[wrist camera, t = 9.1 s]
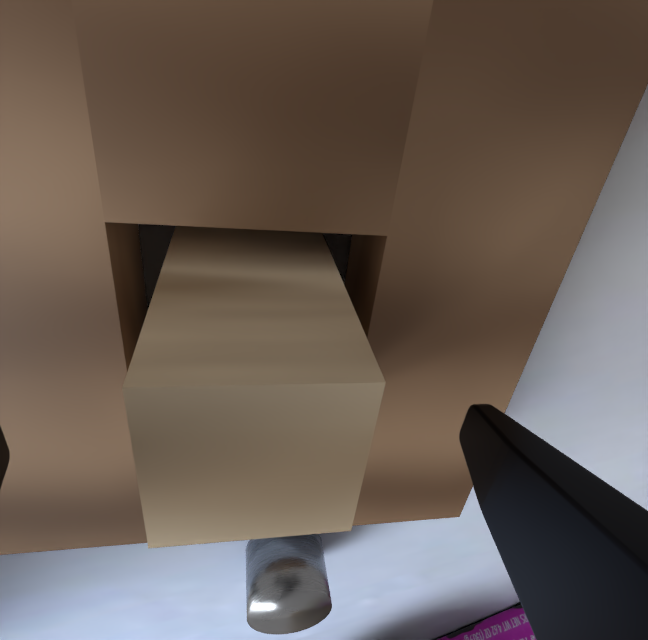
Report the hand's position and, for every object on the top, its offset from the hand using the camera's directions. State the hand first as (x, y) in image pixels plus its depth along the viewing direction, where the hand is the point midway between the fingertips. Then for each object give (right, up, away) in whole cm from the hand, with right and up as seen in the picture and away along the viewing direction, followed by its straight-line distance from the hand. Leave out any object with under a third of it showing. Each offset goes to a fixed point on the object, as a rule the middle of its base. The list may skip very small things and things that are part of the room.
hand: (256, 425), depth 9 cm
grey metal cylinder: (-1, -9, +13) cm, 15 cm away
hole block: (-1, +3, +5) cm, 6 cm away
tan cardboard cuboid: (-1, +3, +5) cm, 6 cm away
